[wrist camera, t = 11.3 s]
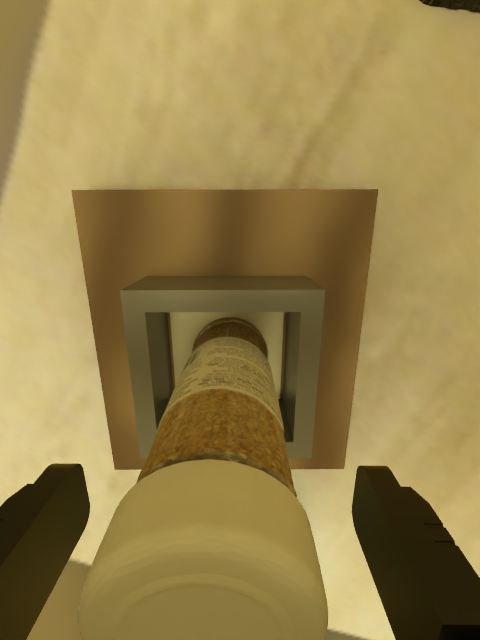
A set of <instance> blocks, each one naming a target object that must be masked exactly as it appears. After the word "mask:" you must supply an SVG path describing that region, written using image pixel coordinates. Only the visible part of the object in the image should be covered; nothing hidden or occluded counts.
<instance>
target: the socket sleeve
mask: <svg viewBox="0 0 480 640" xmlns="http://www.w3.org/2000/svg"><path fill="white" fill-rule="evenodd" d="M120 296H121V304H122V312H123V320H124V328H125V337H126V345H127V353H128V361H129V369H130V377H131V386H132V394H133V402H134V410H135V418H136V427H137V435H138V443H139V451H140V459H147V457H148V455H149V453H150V450H151V447H152V444H153V442H154V440H155V437H156V433H157V429H158V426H159V423H160V421H161V419H162V416H163V414H164V412H165V410H166V408H167V405H168V403H169V401H170V398H171V396H172V394H173V381H172V367H171V354H170V341H169V328H168V315H167V312H287V314H286V336H285V359H284V381H283V400H278V402H279V408H280V412H281V417H282V422H283V427H284V438H285V443H286V452H287V456H288V458H311V456H312V444H313V432H314V420H315V407H316V395H317V383H318V371H319V359H320V347H321V334H322V322H323V310H324V298H325V289H323V288H322V287H321V286H319V285H318V284H316V283H315V282H314V281H312V280H311V279H310V278H308V277H307V276H146V277H144V278H143V279H141V280H139V281H137V282H135V283H133V284H131V285H129V286H127V287H125V288H123V289H121V290H120Z"/></svg>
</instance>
